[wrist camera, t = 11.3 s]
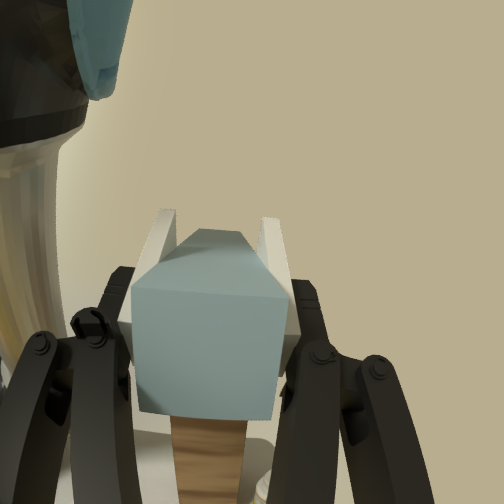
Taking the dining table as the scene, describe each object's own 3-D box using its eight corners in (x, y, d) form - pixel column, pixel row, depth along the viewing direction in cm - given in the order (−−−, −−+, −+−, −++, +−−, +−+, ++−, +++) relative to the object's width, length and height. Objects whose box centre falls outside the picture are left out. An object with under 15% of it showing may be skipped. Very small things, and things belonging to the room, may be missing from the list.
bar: (270, 420, 8) (289, 298, 7) (139, 410, 7) (130, 286, 7) (236, 271, 30) (240, 231, 29) (196, 268, 29) (199, 228, 29)
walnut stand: (235, 513, 30) (256, 348, 26) (180, 510, 29) (167, 342, 25) (231, 469, 40) (247, 311, 36) (184, 467, 39) (181, 306, 35)
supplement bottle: (278, 496, 34) (289, 459, 33) (294, 519, 29) (309, 485, 27) (245, 504, 32) (251, 468, 30) (258, 530, 27) (268, 497, 25)
